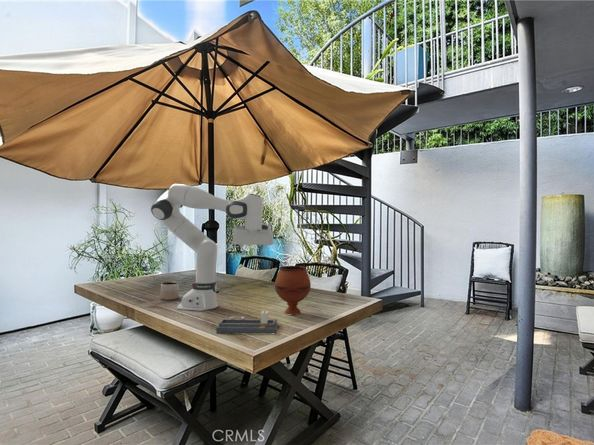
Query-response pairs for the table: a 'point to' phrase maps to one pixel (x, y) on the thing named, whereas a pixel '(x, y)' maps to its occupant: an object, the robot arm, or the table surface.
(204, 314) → the table surface
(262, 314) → the fader cap
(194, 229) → the robot arm
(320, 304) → the table surface
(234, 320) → the console
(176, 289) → the planter
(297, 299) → the terracotta clay pot
